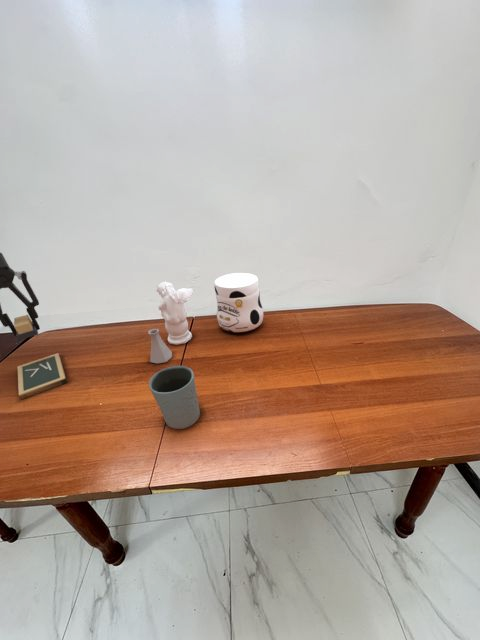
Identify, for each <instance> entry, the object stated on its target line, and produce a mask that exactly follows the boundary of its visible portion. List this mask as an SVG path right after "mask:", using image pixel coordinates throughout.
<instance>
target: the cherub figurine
mask: <svg viewBox="0 0 480 640" xmlns="http://www.w3.org/2000/svg"><path fill="white" fill-rule="evenodd" d="M156 292H157V293H158V295H159V296H160V297H161V299H160V301H159V304H158V310H159V311H160V312H161V313H160V315H161V317H162V318H163V320H164V327H165V331H166V332H167V335H168V336H167V342H168V344H171V345H177V346H178V345H182V344H183V345H184V344H186V343H187V342H189V341H190V340H192V338H193V334H192V332H191V331H190V330H189V322H188V320H187V317H188V314H187V311H186V308H185V307H186V306H185V304H186V303H187V302H188V301H189V299H191V297H192V296H193V294H194V292H195V290H194V288H193V287H189V288H185V287H182V288H179V289H177V290H176V289H175V287H174V284H173V283H172V282H168V281H161V282H160V283H159V284H158V285H157V286H156Z"/></svg>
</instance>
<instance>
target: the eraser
mask: <svg viewBox="0 0 480 640" xmlns="http://www.w3.org/2000/svg"><path fill="white" fill-rule="evenodd" d="M13 325H14V327H15V329H16V336H15V337H16V339H17V340H18V341H21V340H24V339H27V338H31V337H34V336H35V337H36V336H38V335H39V332H38V331H39V330H37V329H36V327H35V325H34V323H33V322H32V320H31V318H30V316H29V314H24V315H21V316H16V317H14V319H13Z"/></svg>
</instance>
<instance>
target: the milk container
mask: <svg viewBox="0 0 480 640" xmlns="http://www.w3.org/2000/svg"><path fill="white" fill-rule="evenodd" d="M213 285H214V292H215V299H216V304H217V305H216V320H217V323H218V326H219V327H220V328H221V329H222V330H224V331H225V332H228V333H232V334H242V333H243V334H244V333H249V332H251V331H254V330H256V329H258V328H259V327H260V326H261V325H262V323H263V321H264V308H263V306H262V302H261V293H260V292H261V291H260V282H259V277H258V276H256V274H253V273H248V272H233V273H227V274H224V275H221V276H219V277H217V278H216V279H215V280H214V284H213Z"/></svg>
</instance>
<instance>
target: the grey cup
mask: <svg viewBox="0 0 480 640" xmlns="http://www.w3.org/2000/svg"><path fill="white" fill-rule="evenodd" d="M148 382H149V383H148V387H149V389H150V392H151V394H152V396H153V399H154V400H155V402H156V403H157V405H158V408H159V410H160V412H161V414H162V416H163V420H164V422H165V424H166V425H167V427H168V428H171V429H175V430H183V429H187V428H190V427H191V426H193V425H194V424H195V423H197V421H198V420H199V418H200V416H201V410H200V404H199V398H198V391H197V386H196V381H195V373H194V370H192V369H191V368H190V367H187V366H184V365H172V366H169V367H165V368H163V369H160V370H159V371H157V372H156V373H154V374H153V375H152V376H151V377H150V379H149V381H148Z"/></svg>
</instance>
